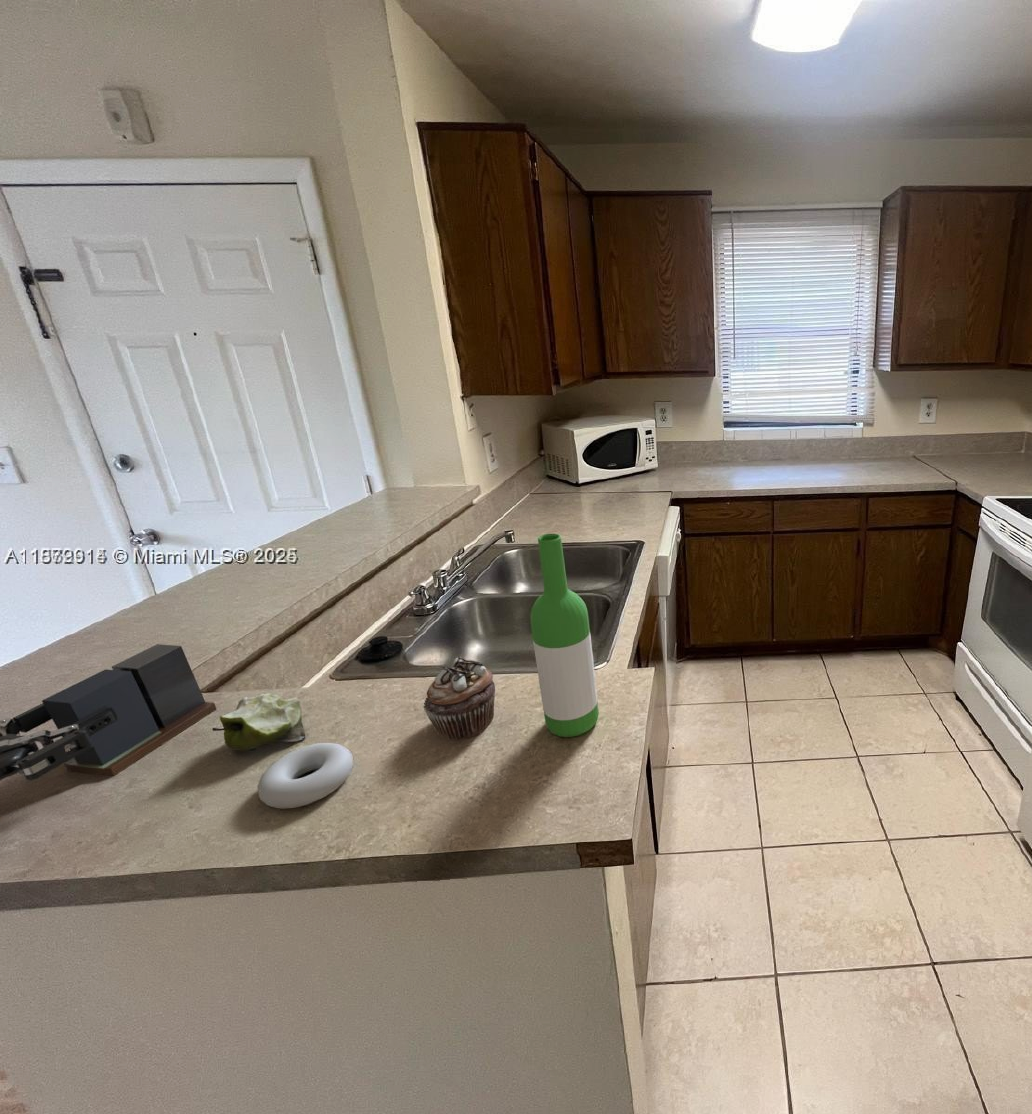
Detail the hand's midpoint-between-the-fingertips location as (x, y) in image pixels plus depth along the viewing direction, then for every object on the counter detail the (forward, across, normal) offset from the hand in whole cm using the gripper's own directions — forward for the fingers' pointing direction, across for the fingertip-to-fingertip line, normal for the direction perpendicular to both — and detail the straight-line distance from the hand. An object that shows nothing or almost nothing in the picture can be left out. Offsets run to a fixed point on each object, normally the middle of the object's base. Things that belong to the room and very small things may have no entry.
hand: (83, 709), depth 74 cm
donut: (0, -30, +9) cm, 31 cm away
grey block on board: (+5, 0, +8) cm, 10 cm away
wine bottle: (+15, -59, +9) cm, 62 cm away
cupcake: (+14, -43, +9) cm, 46 cm away
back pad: (+1, 0, +7) cm, 7 cm away
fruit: (+7, -17, +9) cm, 20 cm away
